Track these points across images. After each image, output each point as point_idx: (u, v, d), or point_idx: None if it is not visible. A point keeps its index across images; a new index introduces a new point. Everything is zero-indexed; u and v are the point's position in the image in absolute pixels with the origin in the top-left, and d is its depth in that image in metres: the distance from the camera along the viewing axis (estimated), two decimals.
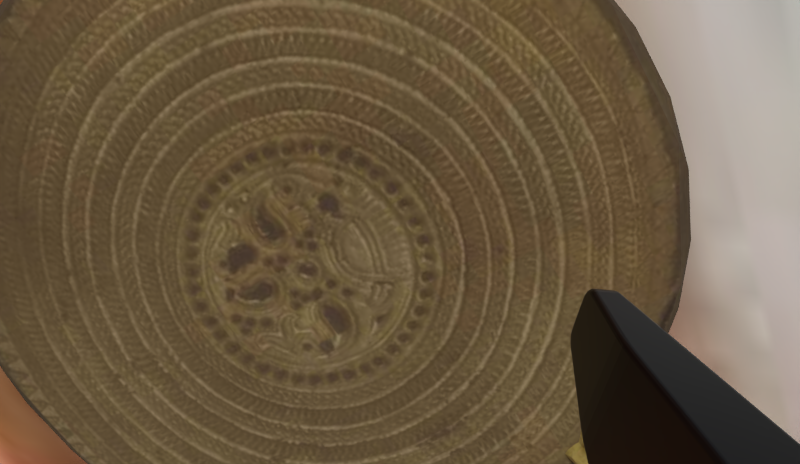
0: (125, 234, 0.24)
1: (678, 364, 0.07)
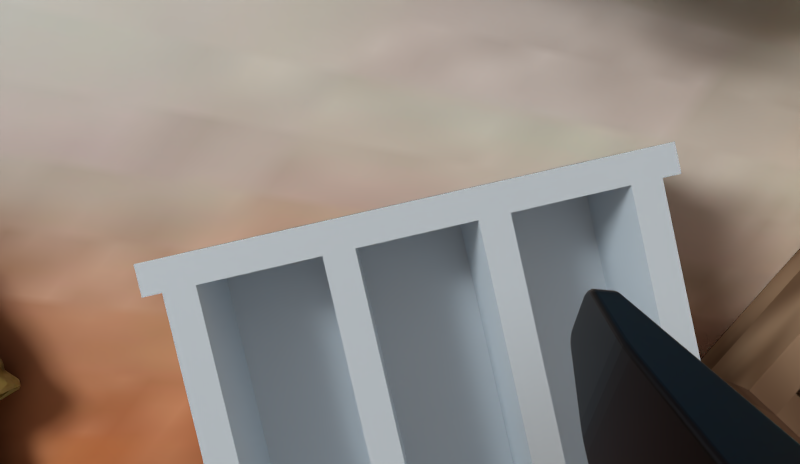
0: None
1: (678, 364, 0.07)
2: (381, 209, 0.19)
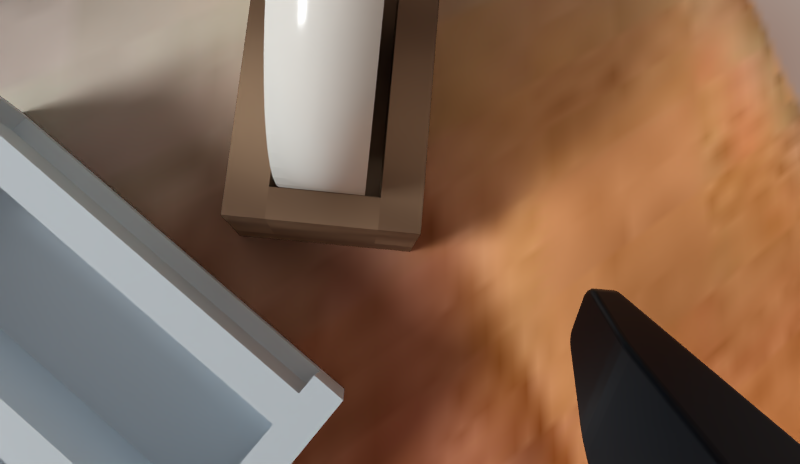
0: None
1: (678, 364, 0.07)
2: None
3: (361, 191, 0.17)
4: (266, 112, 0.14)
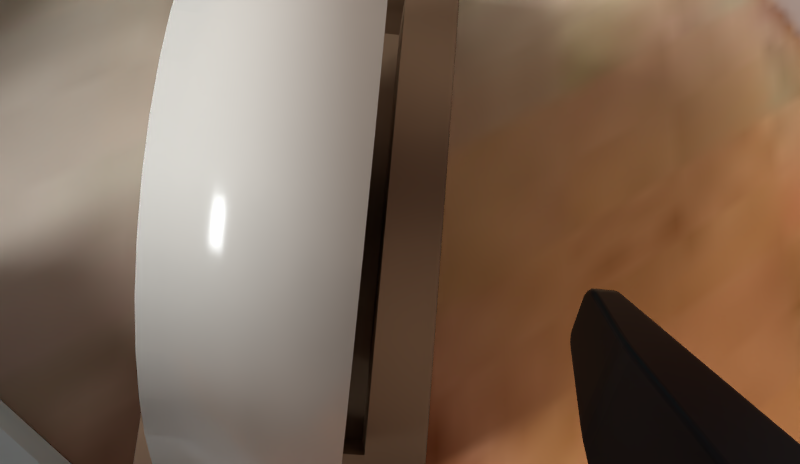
0: None
1: (678, 364, 0.07)
2: None
3: None
4: None
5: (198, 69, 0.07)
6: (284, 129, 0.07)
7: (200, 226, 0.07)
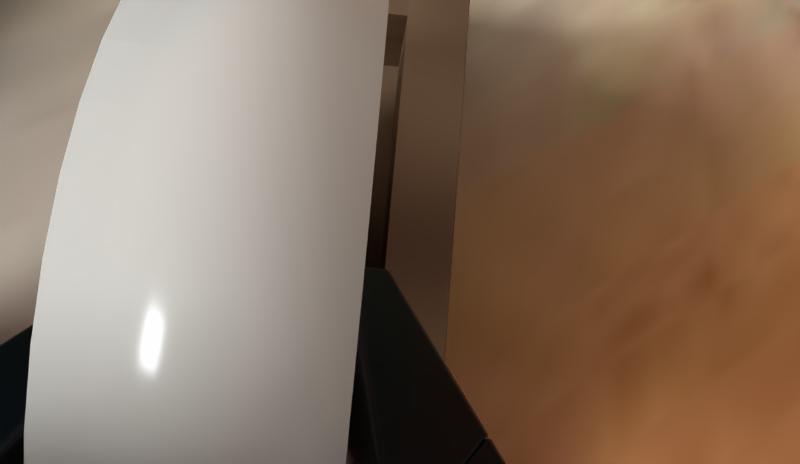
0: None
1: (400, 340, 0.07)
2: None
3: None
4: None
5: (115, 187, 0.05)
6: (235, 272, 0.05)
7: (118, 414, 0.05)
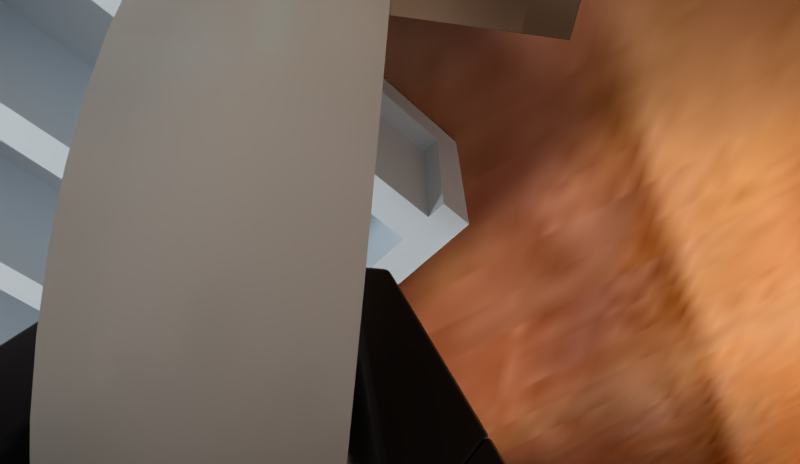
0: None
1: (399, 340, 0.07)
2: None
3: None
4: None
5: (120, 179, 0.05)
6: (240, 264, 0.05)
7: (123, 403, 0.05)
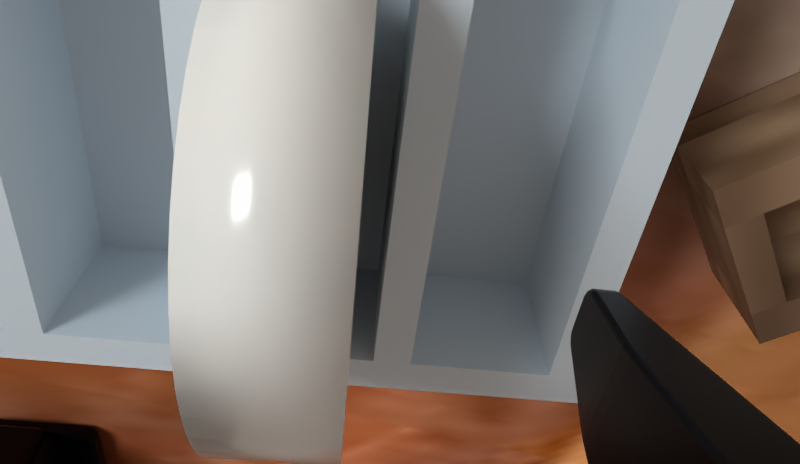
0: None
1: (678, 364, 0.07)
2: None
3: None
4: (189, 438, 0.10)
5: (212, 122, 0.08)
6: (286, 172, 0.08)
7: (220, 256, 0.08)
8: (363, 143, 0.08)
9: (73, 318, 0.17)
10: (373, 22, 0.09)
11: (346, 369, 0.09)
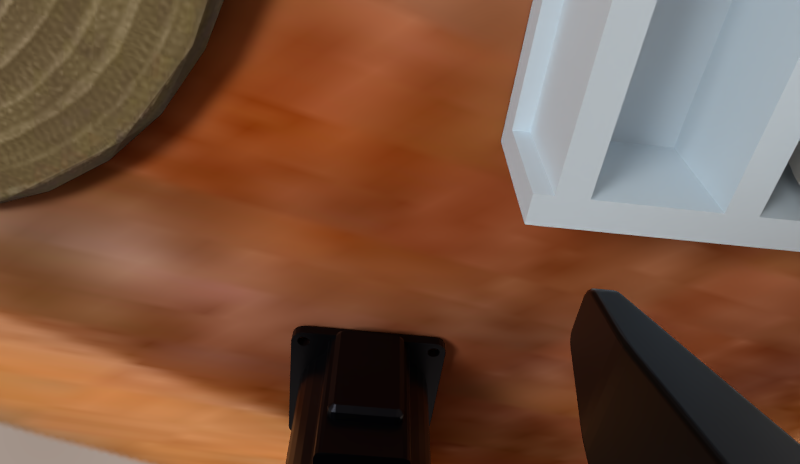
0: None
1: (678, 364, 0.07)
2: None
3: None
4: None
5: None
6: None
7: None
8: None
9: (602, 189, 0.18)
10: None
11: None
